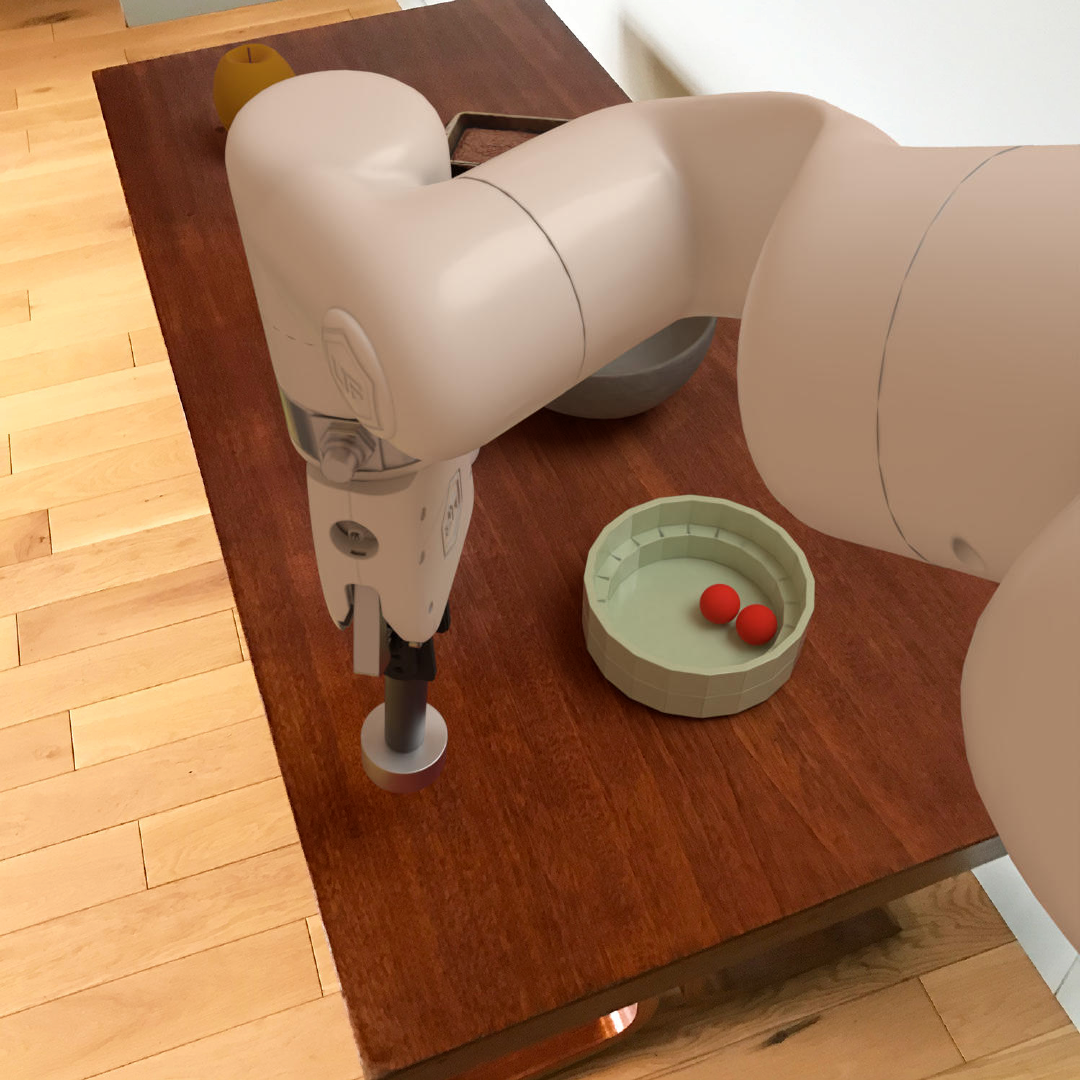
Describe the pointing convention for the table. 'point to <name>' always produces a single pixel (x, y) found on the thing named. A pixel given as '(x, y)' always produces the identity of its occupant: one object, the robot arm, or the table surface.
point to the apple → (245, 78)
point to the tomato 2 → (756, 624)
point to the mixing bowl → (693, 604)
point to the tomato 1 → (719, 603)
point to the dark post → (404, 739)
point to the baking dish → (490, 136)
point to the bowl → (641, 373)
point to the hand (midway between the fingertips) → (414, 647)
